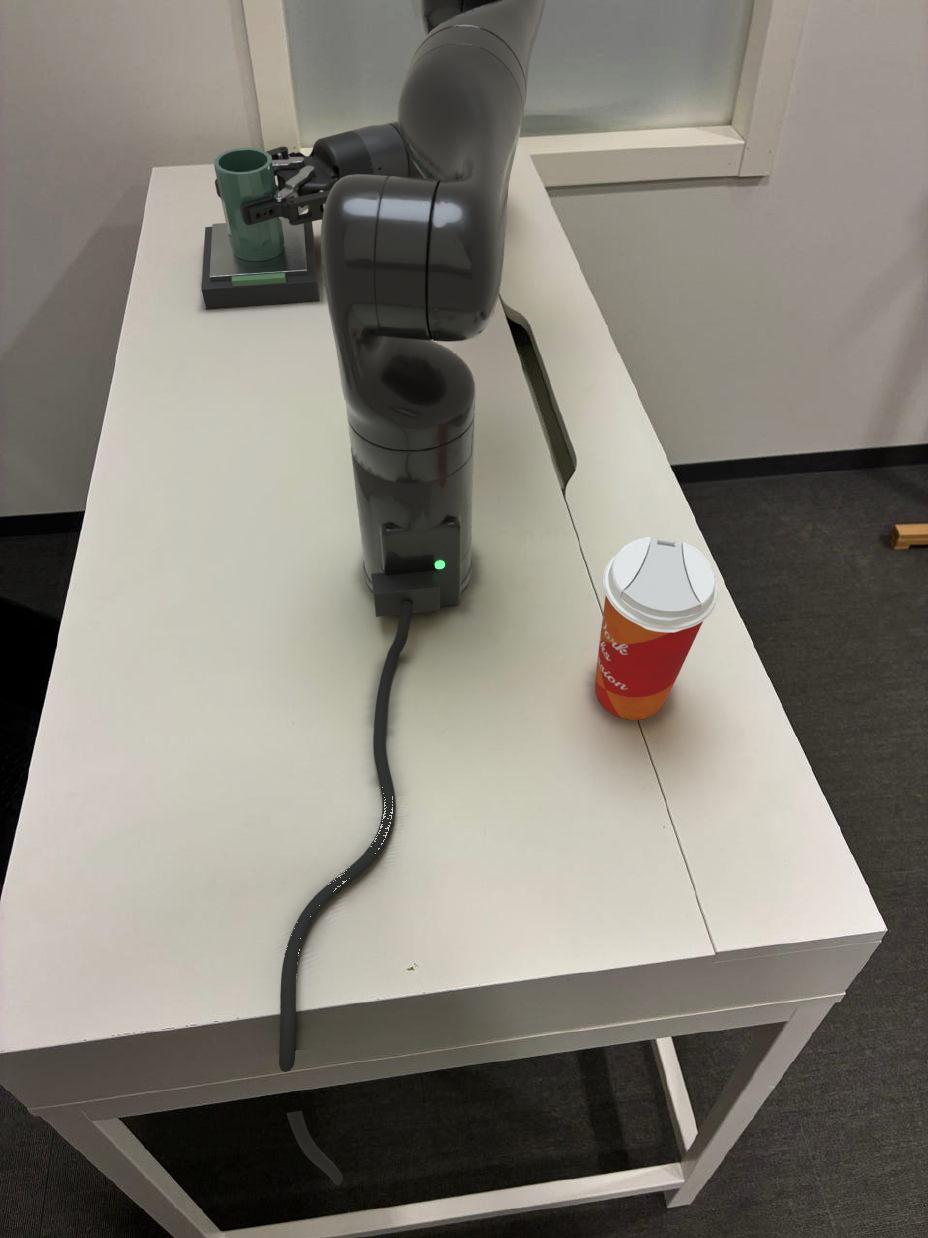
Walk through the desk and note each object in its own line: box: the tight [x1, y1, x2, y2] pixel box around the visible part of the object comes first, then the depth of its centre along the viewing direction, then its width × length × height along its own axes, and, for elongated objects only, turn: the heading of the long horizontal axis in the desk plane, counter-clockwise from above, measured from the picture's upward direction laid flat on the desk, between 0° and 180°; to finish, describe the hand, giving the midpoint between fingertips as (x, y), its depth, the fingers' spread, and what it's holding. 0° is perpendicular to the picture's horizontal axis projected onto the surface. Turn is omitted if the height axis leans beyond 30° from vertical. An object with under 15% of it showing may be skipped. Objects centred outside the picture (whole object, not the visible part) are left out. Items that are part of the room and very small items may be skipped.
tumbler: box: [213, 147, 285, 262], centre depth 100 cm, size 6×6×10 cm
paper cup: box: [594, 536, 719, 721], centre depth 64 cm, size 8×8×14 cm
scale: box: [200, 219, 321, 310], centre depth 105 cm, size 14×13×3 cm
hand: (230, 202), depth 98 cm, fingers closed on tumbler, 6 cm apart
